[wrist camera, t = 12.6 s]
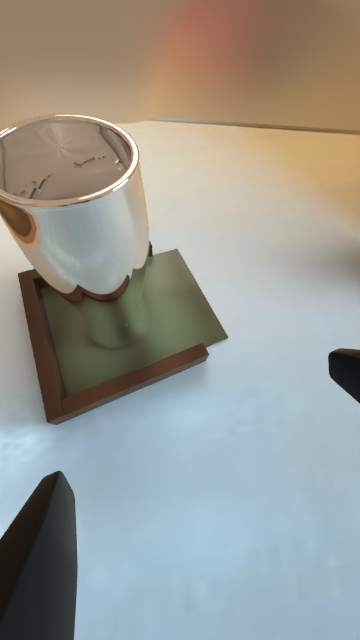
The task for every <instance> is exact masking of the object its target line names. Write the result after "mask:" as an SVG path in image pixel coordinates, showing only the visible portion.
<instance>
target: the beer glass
mask: <svg viewBox="0 0 360 640" xmlns="http://www.w3.org/2000/svg"><path fill="white" fill-rule="evenodd" d="M0 216H1V218H2V220H3V221H4V223H5V225H6V226H7V228H8V230H9V232H10V233H11V235H12V237H13V238H14V240H15V241H16V243H17V244H18V246H19V247H20V249H21V250H22V252H23V254H24V255H25V257H26V258H27V259H28V261H29V262H30V263H31V265H32V266H33V267H34V268H35V270H36V271H37V272H38V274H39V275H40V276H41V277H42V278H43V279H44V280H45V281H46V282H47V283H48V285H49V286H50V287H51V288H52V289H53V290H54V291H55V292H57V293H58V294H59V295H60V296H61V297H62V298H63V299H64V300H66V301H67V302H68V303H69V304H70V305H71V306H72V307H74V308H75V309H76V310H77V311H78V312H79V313H80V314H81V316H82V319H83V324H84V328H85V331H86V333H87V334H88V336H89V337H90V339H91V340H92V341H94V342H95V343H96V344H98V345H100V346H103V347H106V348H113V349H115V348H123V347H127V346H129V345H131V344H133V343H135V342H136V341H138V340H139V339H140V338H141V337H142V336H143V335H144V333H145V332H146V330H147V327H148V324H149V311H148V308H147V305H146V303H145V301H144V299H143V297H142V294H143V287H144V282H145V277H146V271H147V265H148V255H149V227H148V217H147V207H146V200H145V194H144V187H143V182H142V176H141V169H140V163H139V150H138V147H137V145H136V143H135V141H134V140H133V138H132V137H131V136H130V135H129V134H128V133H127V132H126V131H124V130H123V129H122V128H120V127H118V126H117V125H115V124H113V123H110V122H108V121H105V120H102V119H99V118H94V117H90V116H85V115H76V114H53V115H44V116H38V117H33V118H29V119H25V120H21V121H18V122H16V123H13V124H11V125H9V126H6V127H4V128H2V129H1V130H0Z"/></svg>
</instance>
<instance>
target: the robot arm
mask: <svg viewBox="0 0 360 640" xmlns="http://www.w3.org/2000/svg"><path fill="white" fill-rule="evenodd" d="M328 361H329V374H330V377H331V378H332V379H333V380H334V381H335V382H336V383H337V384H338V385H339V386H341V387H342V388H343V389H344V390H345V391H346V392H347V393H348V394H350V395H351V396H352V397H353V398H354V399H355V400H356V401H358V402H359V403H360V350H355V349H343V348H340V349H337V350H335V351H332V352H331V353H329V356H328ZM76 592H77V538H76V514H75V497H74V493H73V491H72V489H71V487H70V485H69V483H68V481H67V479H66V478H65V476H64V474H63V473H62V472H61V471H57V472H54V473H52V474H50V475H47V476H46V477H44V478H43V479H42V480H41V482H40V483H39V484H38V486H37V487H36V489H35V490H34V492H33V493H32V495H31V496H30V497H29V499H28V500H27V502H26V503H25V505H24V506H23V507H22V509H21V510H20V512H19V513H18V515H17V516H16V518H15V519H14V520H13V522H12V523H11V525H10V526H9V528H8V529H7V531H6V532H5V533H4V535H3V536H2V538H1V539H0V640H74V629H75V610H76Z"/></svg>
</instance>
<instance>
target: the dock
mask: <svg viewBox="0 0 360 640" xmlns="http://www.w3.org/2000/svg"><path fill="white" fill-rule="evenodd" d="M18 277H19V282H20V287H21V292H22V297H23V302H24V307H25V313H26V318H27V323H28V328H29V333H30V338H31V343H32V348H33V353H34V358H35V363H36V368H37V373H38V378H39V383H40V388H41V393H42V398H43V403H44V408H45V414H46V419H47V422H48V423H52V424H56V425H57V424H59V423H62V422H64V421H66V420H69V419H71V418H73V417H76V416H78V415H80V414H83V413H85V412H87V411H90V410H92V409H94V408H97V407H99V406H101V405H104V404H106V403H108V402H111V401H113V400H115V399H118V398H120V397H122V396H125V395H127V394H129V393H132V392H134V391H136V390H139V389H141V388H143V387H146V386H148V385H150V384H153V383H155V382H157V381H160V380H162V379H164V378H167V377H169V376H171V375H174V374H176V373H178V372H181V371H183V370H185V369H188V368H190V367H192V366H195V365H197V364H199V363H202V362H204V361H206V359H207V357H208V355H209V353H208V351H207V350H206V348H205V347H207V346H209V345H212V344H214V343H217V342H219V341H221V340H224V339H226V338H228V336H227V334H226V333H225V331H224V329H223V327H222V326H221V324H220V322H219V320H218V319H217V317H216V315H215V314H214V312H213V310H212V308H211V307H210V305H209V303H208V301H207V300H206V298H205V296H204V295H203V293H202V291H201V289H200V288H199V286H198V284H197V282H196V281H195V279H194V277H193V275H192V274H191V272H190V270H189V269H188V267H187V265H186V263H185V262H184V260H183V258H182V256H181V255H180V253H179V251H178V250H177V249H175V250H171V251H168V252H164V253H161V254H158V255H154V256H152V245H151V243H150V241H149V255H148V265H147V271H146V277H145V282H144V287H143V294H142V297H143V299H144V301H145V303H146V305H147V308H148V311H149V324H148V327H147V330H146V332H145V333H144V335H143V336H142V337H141V338H140V339H139V340H138V341H136V342H135V343H133V344H131V345H129V346H127V347H123V348H115V349H113V348H106V347H103V346H100V345H98V344H96V343H95V342H94V341H92V340H91V339H90V337H89V336H88V334H87V333H86V331H85V328H84V324H83V319H82V316H81V314H80V313H79V312H78V311H77V310H76V309H75V308H74V307H72V306H71V305H70V304H69V303H68V302H67V301H66V300H64V299H63V298H62V297H61V296H60V295H59V294H58V293H57V292H55V291H54V290H53V289H52V288H51V287H50V286H49V285H48V283H47V282H46V281H45V280H44V279H43V278H42V277H41V276H40V275H39V274H38V272H37V271H36V270H35V269H33V270H29V271H25V272H22V273H18Z"/></svg>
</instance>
